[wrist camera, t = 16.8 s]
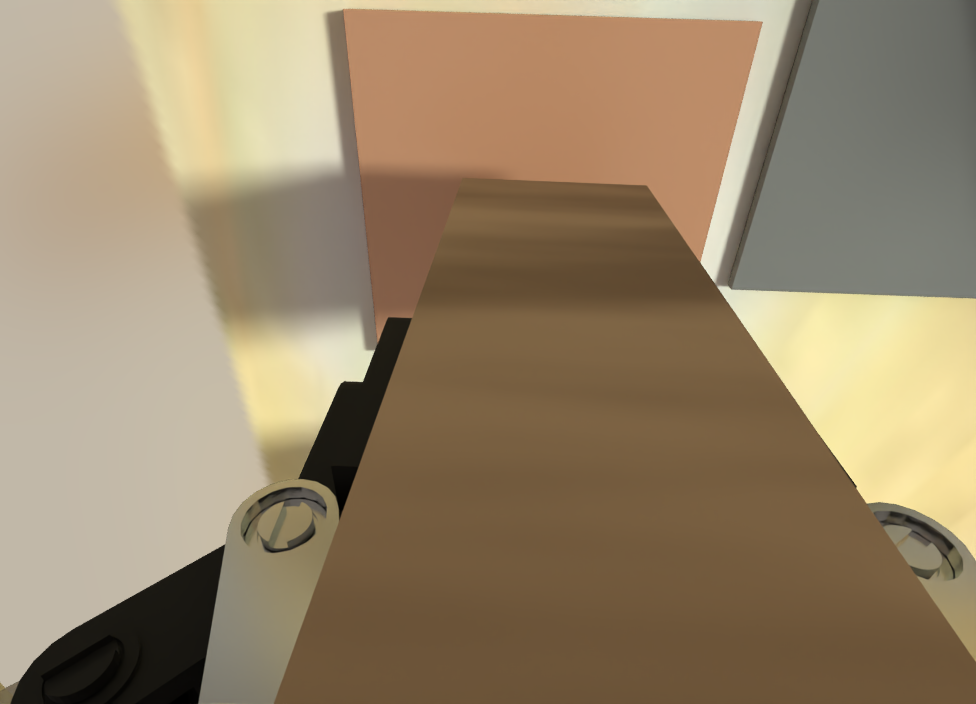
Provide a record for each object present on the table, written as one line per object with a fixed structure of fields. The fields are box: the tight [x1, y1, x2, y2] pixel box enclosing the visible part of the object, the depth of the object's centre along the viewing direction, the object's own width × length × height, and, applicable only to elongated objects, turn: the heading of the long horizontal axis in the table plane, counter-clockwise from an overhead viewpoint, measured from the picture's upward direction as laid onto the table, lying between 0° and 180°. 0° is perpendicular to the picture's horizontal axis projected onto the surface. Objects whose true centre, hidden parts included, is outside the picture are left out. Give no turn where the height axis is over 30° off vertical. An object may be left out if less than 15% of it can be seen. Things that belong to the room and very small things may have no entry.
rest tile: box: [343, 9, 763, 342], centre depth 19 cm, size 12×12×1 cm
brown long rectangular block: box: [274, 178, 976, 704], centre depth 10 cm, size 5×5×15 cm
